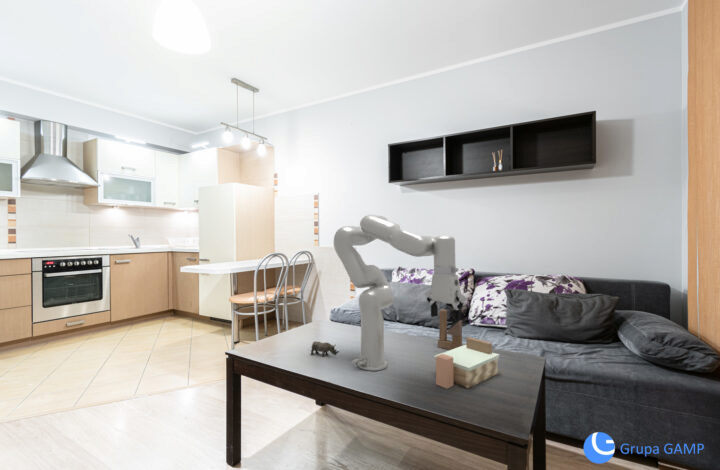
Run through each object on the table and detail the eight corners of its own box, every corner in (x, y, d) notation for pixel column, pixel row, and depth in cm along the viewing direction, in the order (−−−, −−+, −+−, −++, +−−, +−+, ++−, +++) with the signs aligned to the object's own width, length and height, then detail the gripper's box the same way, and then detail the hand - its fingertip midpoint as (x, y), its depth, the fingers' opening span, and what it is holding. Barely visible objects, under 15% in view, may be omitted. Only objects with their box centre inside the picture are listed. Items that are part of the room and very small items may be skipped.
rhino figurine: (337, 359, 142) (337, 345, 142) (309, 355, 146) (309, 341, 146) (340, 356, 145) (341, 342, 146) (313, 352, 150) (313, 339, 150)
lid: (468, 371, 113) (468, 356, 113) (433, 359, 125) (433, 345, 125) (499, 357, 126) (499, 344, 126) (465, 347, 138) (465, 335, 138)
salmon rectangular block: (446, 388, 113) (446, 359, 114) (436, 384, 117) (436, 356, 117) (453, 385, 116) (453, 357, 116) (442, 381, 119) (442, 353, 120)
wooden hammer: (459, 352, 150) (459, 313, 150) (437, 347, 157) (437, 310, 157) (462, 350, 153) (462, 311, 153) (441, 345, 160) (440, 308, 160)
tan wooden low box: (468, 388, 113) (468, 371, 114) (435, 375, 124) (435, 359, 124) (497, 373, 126) (497, 358, 126) (465, 363, 137) (465, 348, 137)
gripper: (472, 271, 113) (472, 321, 112) (431, 268, 126) (432, 313, 126) (459, 273, 108) (460, 324, 107) (419, 269, 121) (419, 316, 121)
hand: (445, 318), depth 117 cm, fingers open, 9 cm apart
